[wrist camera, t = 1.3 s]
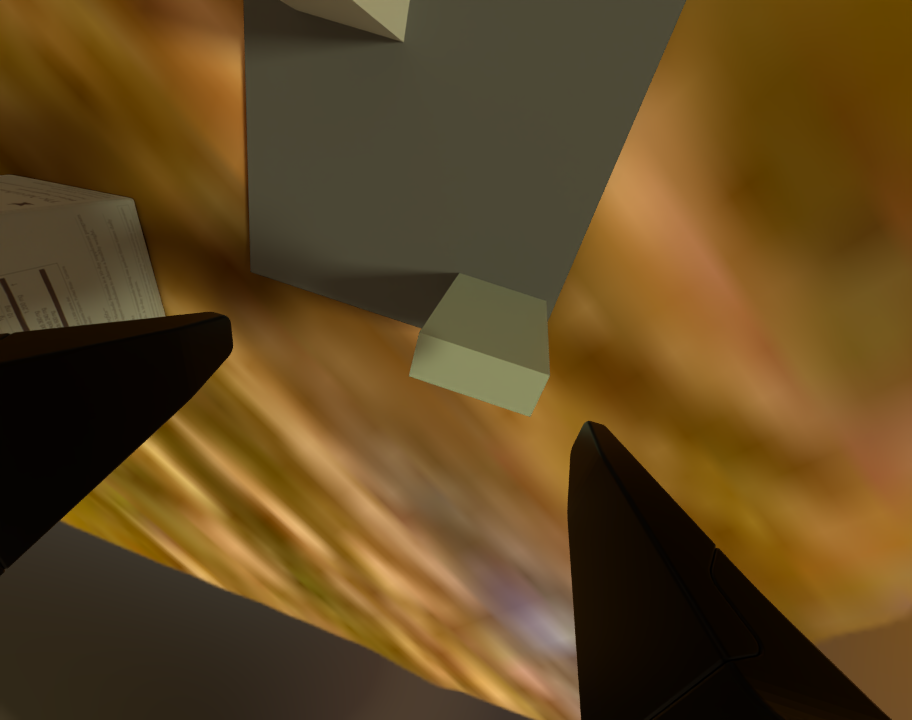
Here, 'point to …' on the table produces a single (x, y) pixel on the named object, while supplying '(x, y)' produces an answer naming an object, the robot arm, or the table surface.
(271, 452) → the table surface
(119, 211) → the supplement box
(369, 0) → the domino
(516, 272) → the mat
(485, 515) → the table surface
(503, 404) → the domino
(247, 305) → the table surface
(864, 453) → the table surface
